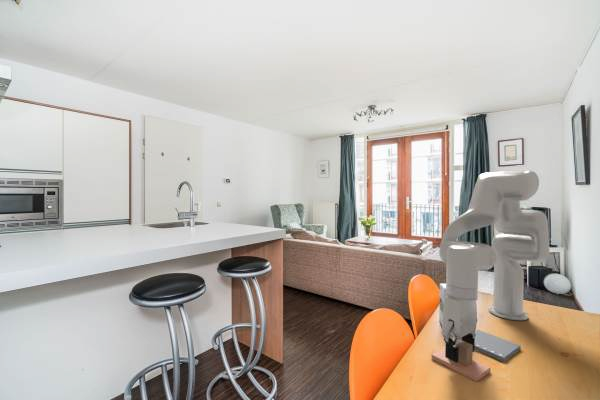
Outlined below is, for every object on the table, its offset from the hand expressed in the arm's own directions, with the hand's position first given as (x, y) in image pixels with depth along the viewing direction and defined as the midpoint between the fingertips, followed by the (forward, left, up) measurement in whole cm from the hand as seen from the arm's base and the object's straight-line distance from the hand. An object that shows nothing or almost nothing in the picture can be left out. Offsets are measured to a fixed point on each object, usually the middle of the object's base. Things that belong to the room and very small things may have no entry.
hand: (460, 354), depth 78 cm
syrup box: (-21, -14, -3) cm, 25 cm away
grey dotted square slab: (-18, 0, -3) cm, 18 cm away
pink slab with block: (0, 0, -3) cm, 3 cm away
